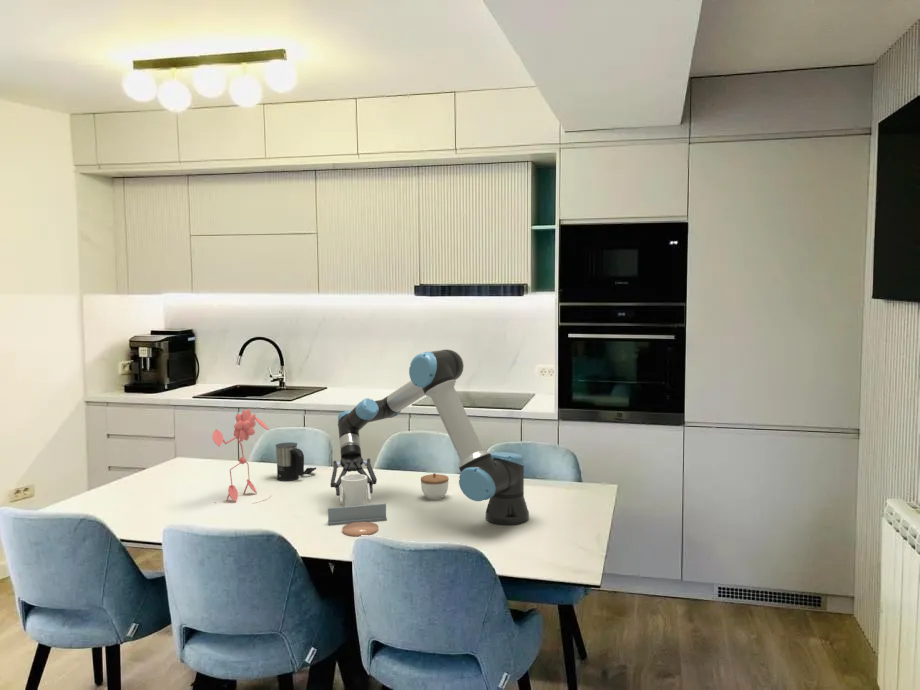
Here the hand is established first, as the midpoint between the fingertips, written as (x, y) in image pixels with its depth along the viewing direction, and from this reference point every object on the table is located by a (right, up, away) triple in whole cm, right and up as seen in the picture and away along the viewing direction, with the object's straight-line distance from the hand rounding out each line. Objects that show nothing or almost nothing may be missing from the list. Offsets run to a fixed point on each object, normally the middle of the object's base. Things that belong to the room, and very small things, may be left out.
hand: (355, 502), depth 269 cm
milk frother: (-33, -1, +54) cm, 63 cm away
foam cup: (-1, -5, +3) cm, 6 cm away
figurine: (-45, -4, +23) cm, 50 cm away
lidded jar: (+28, -3, +21) cm, 35 cm away
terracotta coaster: (+4, -6, -16) cm, 17 cm away
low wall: (+2, -5, -6) cm, 8 cm away
